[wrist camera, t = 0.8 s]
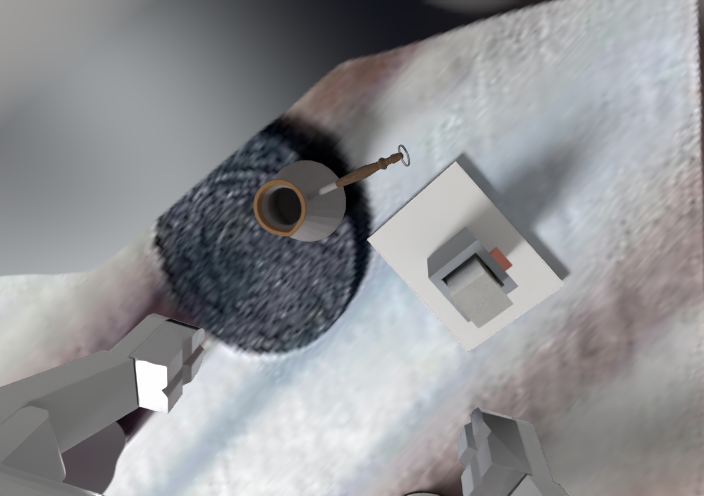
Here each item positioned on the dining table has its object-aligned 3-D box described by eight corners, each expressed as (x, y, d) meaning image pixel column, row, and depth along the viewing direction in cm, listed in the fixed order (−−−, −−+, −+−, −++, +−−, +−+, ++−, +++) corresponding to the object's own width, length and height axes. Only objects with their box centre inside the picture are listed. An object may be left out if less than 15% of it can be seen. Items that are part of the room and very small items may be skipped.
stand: (560, 281, 48) (602, 312, 37) (466, 347, 52) (479, 392, 41) (454, 161, 47) (465, 157, 36) (368, 237, 52) (354, 254, 41)
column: (484, 263, 48) (514, 304, 32) (460, 281, 49) (478, 329, 33) (464, 240, 48) (485, 271, 32) (440, 259, 49) (450, 297, 33)
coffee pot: (293, 248, 54) (248, 274, 40) (264, 178, 53) (206, 179, 39) (425, 199, 49) (427, 208, 35) (397, 120, 48) (387, 95, 33)
